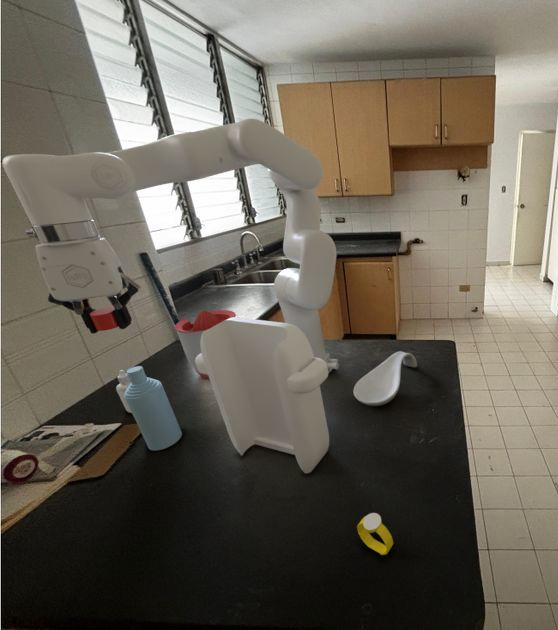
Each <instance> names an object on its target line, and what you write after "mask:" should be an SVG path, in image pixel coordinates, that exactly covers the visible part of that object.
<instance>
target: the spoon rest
mask: <svg viewBox="0 0 558 630" xmlns="http://www.w3.org/2000/svg"><path fill="white" fill-rule="evenodd" d="M402 364H403V365H404V366H405V367H410V368H417V367H418V362H417V359H416V357H415V356H414V355H413V353H410V352H405V351H402V350H400V351H396V352H394V353H392V354H391V355H390V356H389V357H388V358H386V359H385V360H384V361H383V362H381V363H380V364H379V365H377V366H376V367H374V368H373V369H372V370H370V371H369V372H368V373H366V374H365V375H364V376H362V377H361V378H360V379H359V380H358V381H357V382H356V383H355V385H354V388H353V396H354V397H355V399H356V400H357V401H358V402H360V403H362V404H364V405H366V406H369V407H379V406H383V405H386V404H388V403H390V402H391V401H392V400H393V399H394V398H395V397H396V395H397V394H398V391H399V389H400V386H401V373H402Z"/></svg>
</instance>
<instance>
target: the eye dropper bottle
mask: <svg viewBox="0 0 558 630" xmlns="http://www.w3.org/2000/svg"><path fill="white" fill-rule="evenodd" d="M116 378H117V381H118V382H119V384H117V385H116V387H115V390H116V393H117V394H118V396H119V398H120V401H121V403H122V405H123V407H124V408H125V411H126V412H127V413H129V414H132V412H131V410H130V408H129V405H128V403H127V401H126V399H125V397H124V395H125V391H126V390H127V388H128V386H129V385H130V383H131V381H130V379H129V377H128V375H127V372H125V371H124V369H120V370H119V375H117V376H116Z"/></svg>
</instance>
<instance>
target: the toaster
mask: <svg viewBox="0 0 558 630" xmlns="http://www.w3.org/2000/svg"><path fill="white" fill-rule="evenodd" d="M200 347H201V353H200V354H199V355H198V356H197V357H196V359H195V363H196V366H197V369H198V371H199V372H200V373H202V374H205V375H208V376H209V381H210V385H211V387H212V391H213V393H214V396H215V400H216V402H217V405H218V408H219V411H220V413H221V416H222V419H223V423H224V425H225V428H226V431H227V434H228V436H229V439H230V441H231V443H232V445H233V447H234V448H235V450H236V451H237V453H238V454H240V456H244V454H245V452H246V451H247V450H248V449H249V448H251V447H252V446H254V445H257V446H260V447H264V448H268V449H271V450H275V451H279V452H283V453H286V454H290V455H294V456H295V459H296V462H297V464H298V466H299V468H300V470H301V471H302V472H303V473H304V474H305V475H306V474H310V473H312V472H313V471H314V469H315V468H316V467H317V465H318V464H319V463H320V462H321V460H322V459H323V457H325V455H326V454H327V452H328V451H329V447H330V433H329V427H328V422H327V417H326V411H325V407H324V402H323V401H324V400H323V396H322V390H321V385H322V384H323V382H325V381H326V380H327V378H328V377H329V373H328V368H327V364H326V362H325V361H324V360H322V359H320V358H316V357H314V355H313V351H312V348H311V346H310V343H309V341H308V339H307V337H306V336H305V334H304V333H303V332H302V331H301V330H300V329H299V328H298V327H296V326H295V325H292V324H288V323H285V322H280V321H279V322H278V321H272V320H271V321H269V320H263V319H254V318H246V317H238V316H235V317H232V318H229V319H227V320H225V321H223V322H221V323H219V324H217V325H215V326H213V327H212V328H210V329H208V330H205V331H204V332H203V333H202V335H201V340H200Z"/></svg>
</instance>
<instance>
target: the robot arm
mask: <svg viewBox="0 0 558 630" xmlns="http://www.w3.org/2000/svg"><path fill="white" fill-rule="evenodd" d="M1 163H2V167H3V169H4V172H5V174H6V176H7V178H8V180H9V182H10V184H11V186H12V187H13V191H14V192H15V194H16V196H17V198H18V200H19V202H20V204H21V206H22V208H23V210H24V212H25V214H26V216H27V218H28V220H29V222H30V223H31V228H28V229H26V230H25V233H26V235H27V236H28V237H29V238H36V239H37V241H38V242H39V243H40V244H35V253H36V258H37V261H38V265H39V268H40V272H41V273H42V276H43V277H42V278H43V279H44V282H45V284H46V286H47V289H48V291H49V293H48V297H47V301H48V302H49V303H51V304H54V305H58V306H62V307H64V308H66V309H68V310H71V311H73V312H74V313H75V314H76V315H78V316H80V318H81V319H82V321H83V323H84V325H85V327H86V328H87V329H89V332H90V334H97V333H98V332H99V331H98V330H97V329H96V327H95V325H94V323H93V321H92V319H91V317H90V315H89V314H90V313H91V312H93V311H95V310H96V308H93V307H92V304H91V300H90V299H95V298H103V297H106V298H107V300H108V302H110V304H111V305H112V307H114V310H113V311H112V312H113V315H114V317H115V319H116V321H117V324H118V326H119V327H118V328H119V329H120V330H125V329H127V328H128V327H129V326H130V325H131V324H132V319H133V318H132V316H131V314H130V311H129V309H128V306H127V305H128V304H129V302H130V301H131V299H132V298H133V297H134V296H135V295H136V294H138V292H140V291H141V290H142V287H141V285H139V284H138V283H137V282H135V281H134V280H132V278H130V277H129V276H128V274H127V272H126V271H125V268H124V267H123V264H122V263H121V260H120V259H119V257H118V255H117V253H116V252H115V250H114V249H113V247H112V246H111V244H110V243H109V242H108V240H107V239H106V238H105V237H101V235H100V232H99V231H98V229H97V225H96V223H95V221H94V219H93V217H92V215H91V212H90V210H89V208H88V205H87V203H86V200H85V199H104V200H105V199H106V200H117V199H123V198H125V197H127V196H129V195H130V194H131V193H134V192H138V191H142V190H146V189H150V188H153V187H157V186H163V185H167V184H168V185H169V184H176V183H186V182H187V183H188V182H193V181H197V180H201V179H206V178H209V177H212V176H216V175H220V174H224V173H227V172H231V171H235V170H239V169H242V168H243V169H244V168H246V167H251V166H254V165H255V166H256V165H261V166H262V167H264V168H266V169H267V172H268V176H269V178H270V180H271V181H272V182H273V184H274V185H275V186H276V187H277V188H278V190H279V191H280V192H281V194H282V195H283V197H284V200H285V203H286V219H285V227H284V235H283V242H282V246H283V247H282V250H283V251H282V252H283V255H284V256H285V258H287V260H288V261H290V262H292V263H293V264H294V263H295V264H298V265H299V268H297V267H287V268H285V269H282V270H281V271H280V272H278V274H277V275H276V277H275V278H274V282H273V289H274V293H275V297H276V299H277V302H278V304H279V307H280V310H281V313H282V316H283V321H284V323H288V324H292V325H295V326H296V327H298V328H299V329H300V330H301V331H302V332H303V333H304V334H305V336H306V337H307V339H308V341H309V343H310V346H311V348H312V351H313V355H314V357H316V358H320V359H322V360H324V361H325V362H326V364H327V368H328V374H330V373H331V372H332V371H333V370H339V368H340V364H339V359H338V358H332V357H331V356H330V353H328V352H326V346H325V340H324V335H323V329H322V323H321V317H320V313H319V310H321V309H323V308H324V307H325V306H327V304H328V302H329V300H330V297H331V295H332V291H333V284H334V278H335V271H336V264H337V248H336V244H335V242H334V240H333V238H332V237H331V236H330V235H329V234H328V233H327V232H324V231H323V230H321V218H322V217H321V215H322V208H321V207H322V206H321V202H320V199H319V196H318V194H317V192H316V190H315V188H317V187H319V186H320V184H321V183H322V181H323V179H324V167H323V165H322V162H321V161H320V159H319V158H318V157H317V156H316V155H315V153H313V152H312V151H311V150H309V149H308V148H307V147H305V146H303V145H302V144H301V143H298V142H297V141H295V140H294V139H292V138H291V137H289V136H288V135H286V134H285V133H283V132H282V131H279V130H278V129H276V128H275V127H273V126H271V124H268V123H267V122H264V121H262V120H260V119H258V118H257V119H256V118H246V119H242V120H240V121H236V122H232V123H227V124H223V125H217V126H214V127H213V126H212V127H208V128H207V127H206V128H203V129H196V130H192V131H185V132H179V133H174V134H171V135H167V136H164V137H162V138H161V137H160V138H159V139H157V140H154V141H152V142H149V143H144V144H141V145H138V146H133V147H129V148H124V149H119V150H114V151H108V152H101V151H97V152H96V151H94V152H84V153H78V154H67V155H56V154H50V153H49V154H47V153H46V154H45V153H21V154H20V153H19V154H10V155H5V157H3V159H2V162H1ZM123 289H127V290H126V291H125V292H124V293H123V291H122V290H123Z"/></svg>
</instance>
